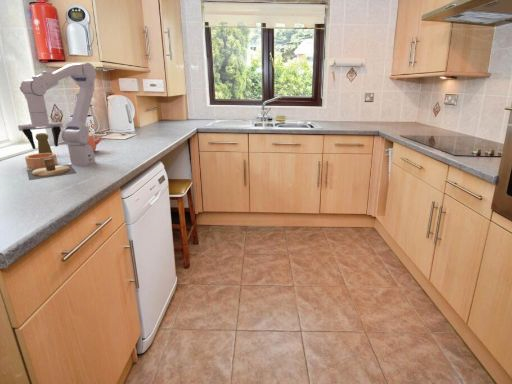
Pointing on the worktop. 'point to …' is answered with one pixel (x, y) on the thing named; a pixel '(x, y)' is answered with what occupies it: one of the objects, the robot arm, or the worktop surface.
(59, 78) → the robot arm
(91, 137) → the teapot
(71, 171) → the mat
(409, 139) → the worktop surface
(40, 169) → the lid
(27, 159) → the bowl
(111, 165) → the worktop surface
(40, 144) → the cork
